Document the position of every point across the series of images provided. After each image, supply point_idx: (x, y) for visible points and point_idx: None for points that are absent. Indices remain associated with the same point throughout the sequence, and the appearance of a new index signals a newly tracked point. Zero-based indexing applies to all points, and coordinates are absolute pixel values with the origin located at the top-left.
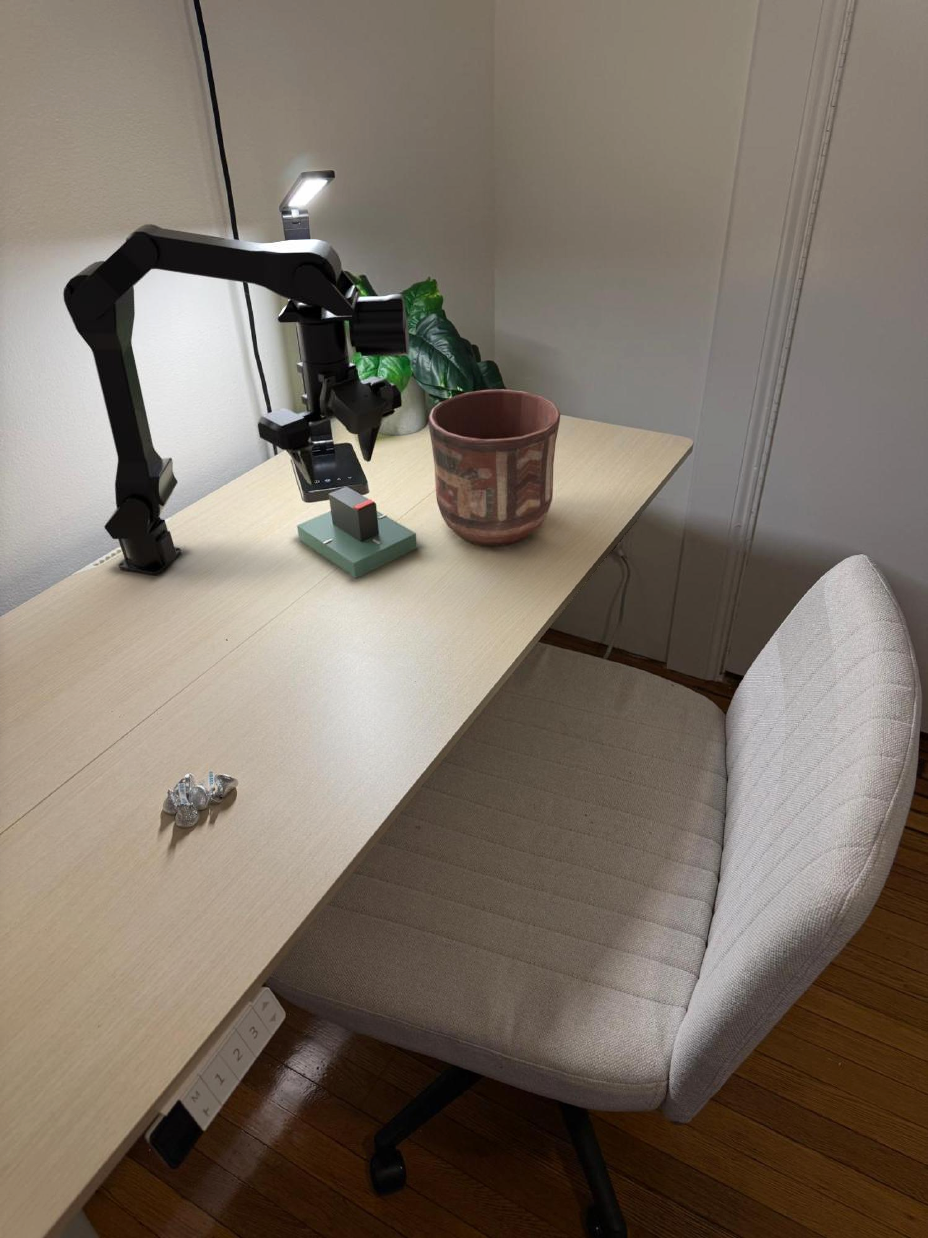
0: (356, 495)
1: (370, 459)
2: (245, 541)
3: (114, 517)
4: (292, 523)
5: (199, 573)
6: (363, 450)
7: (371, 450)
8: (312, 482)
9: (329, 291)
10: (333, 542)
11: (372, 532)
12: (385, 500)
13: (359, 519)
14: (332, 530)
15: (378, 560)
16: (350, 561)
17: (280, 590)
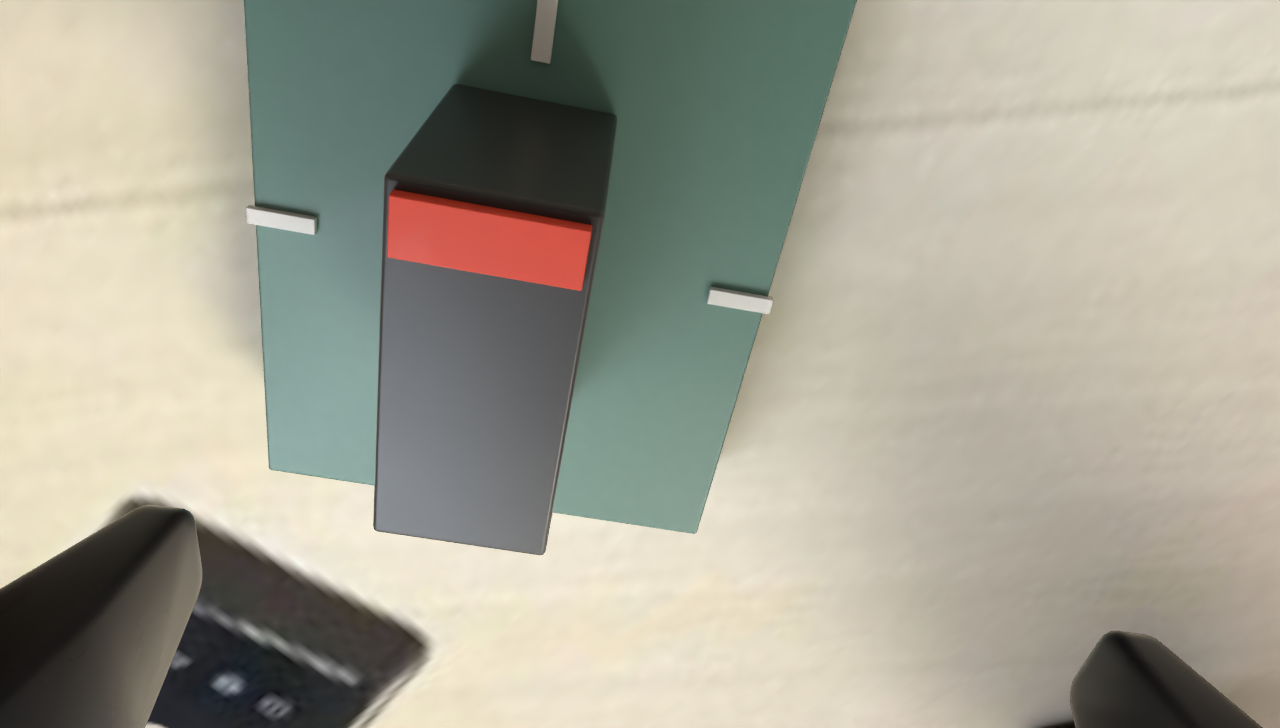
0: (415, 393)
1: (138, 513)
2: (835, 626)
3: None
4: (599, 580)
5: (1138, 605)
6: (125, 696)
7: (19, 612)
8: (1182, 662)
9: None
10: (724, 266)
11: (507, 104)
12: (100, 390)
13: (601, 178)
14: (619, 361)
15: None
16: (854, 5)
17: (1141, 241)
